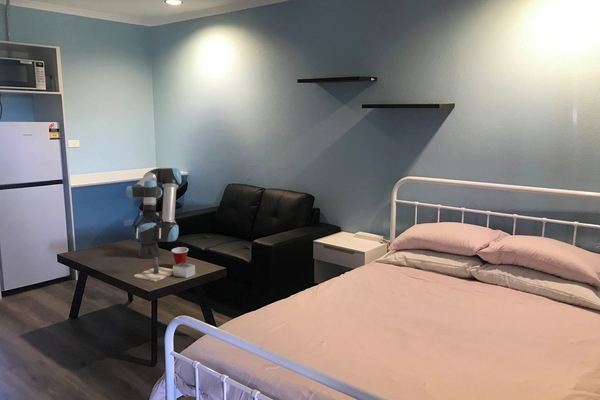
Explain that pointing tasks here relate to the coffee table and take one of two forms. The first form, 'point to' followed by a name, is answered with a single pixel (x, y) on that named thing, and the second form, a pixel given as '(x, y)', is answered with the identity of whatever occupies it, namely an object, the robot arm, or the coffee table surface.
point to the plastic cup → (180, 254)
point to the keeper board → (154, 276)
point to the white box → (184, 270)
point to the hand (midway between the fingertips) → (148, 238)
